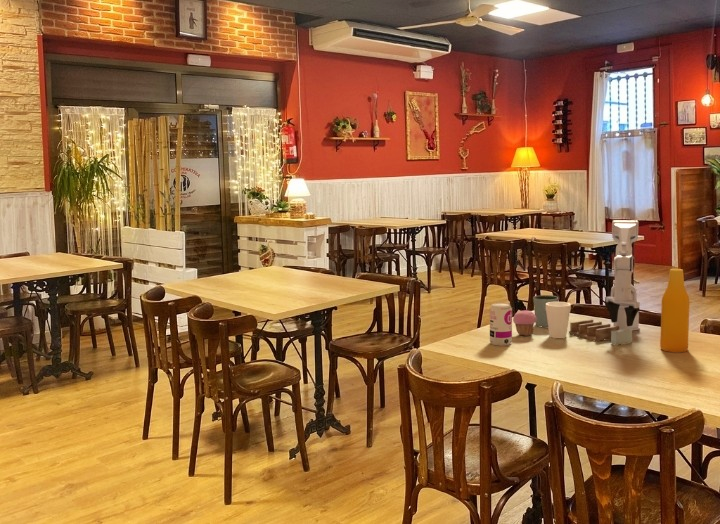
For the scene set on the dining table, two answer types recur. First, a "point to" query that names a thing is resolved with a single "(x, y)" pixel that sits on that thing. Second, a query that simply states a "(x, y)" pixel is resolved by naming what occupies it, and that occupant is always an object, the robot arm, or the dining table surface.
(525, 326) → the cupcake
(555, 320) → the foam cup
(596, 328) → the rack
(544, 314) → the grey-green pot
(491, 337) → the supplement can
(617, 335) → the grey-green rectangular block
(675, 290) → the beer bottle
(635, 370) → the dining table surface
